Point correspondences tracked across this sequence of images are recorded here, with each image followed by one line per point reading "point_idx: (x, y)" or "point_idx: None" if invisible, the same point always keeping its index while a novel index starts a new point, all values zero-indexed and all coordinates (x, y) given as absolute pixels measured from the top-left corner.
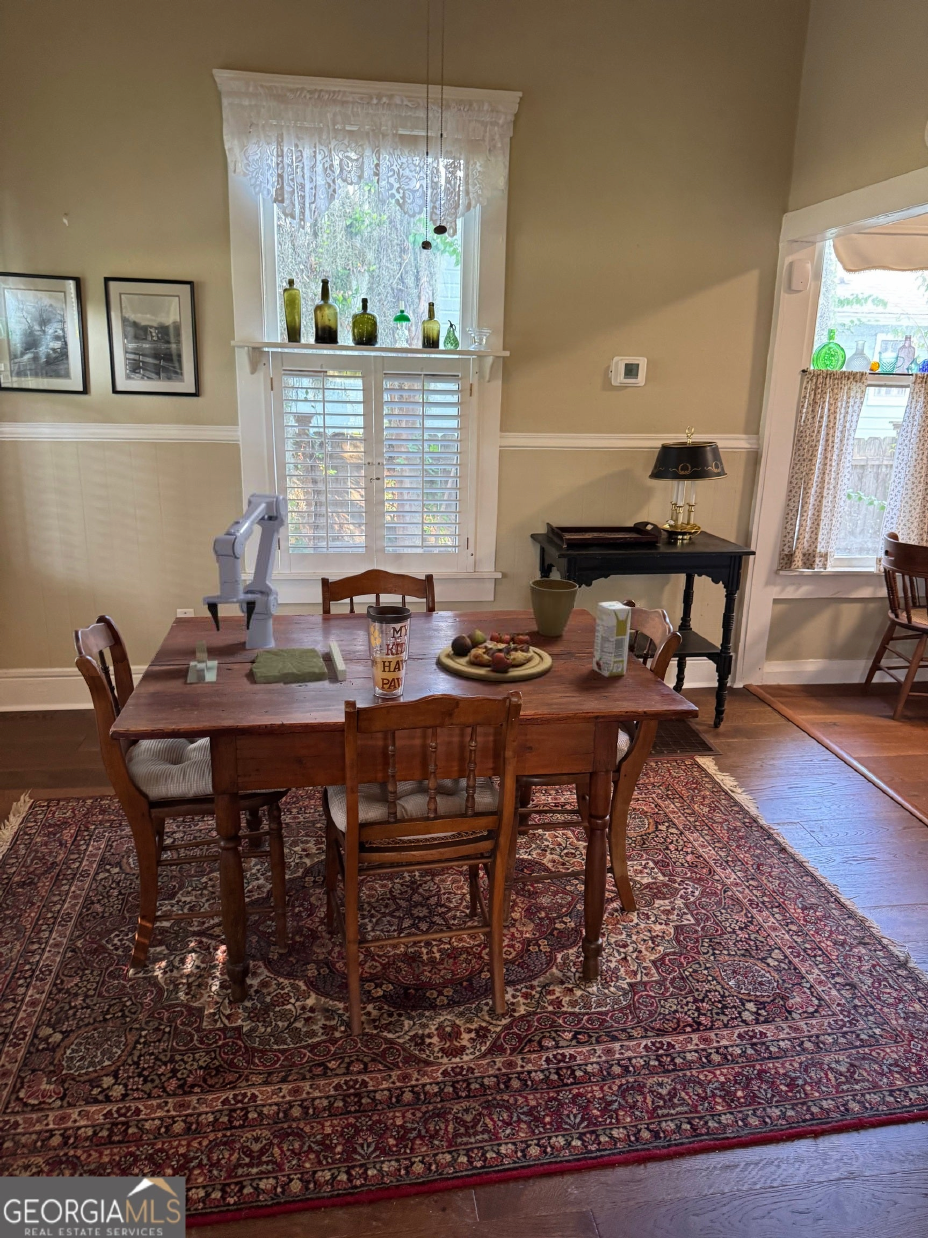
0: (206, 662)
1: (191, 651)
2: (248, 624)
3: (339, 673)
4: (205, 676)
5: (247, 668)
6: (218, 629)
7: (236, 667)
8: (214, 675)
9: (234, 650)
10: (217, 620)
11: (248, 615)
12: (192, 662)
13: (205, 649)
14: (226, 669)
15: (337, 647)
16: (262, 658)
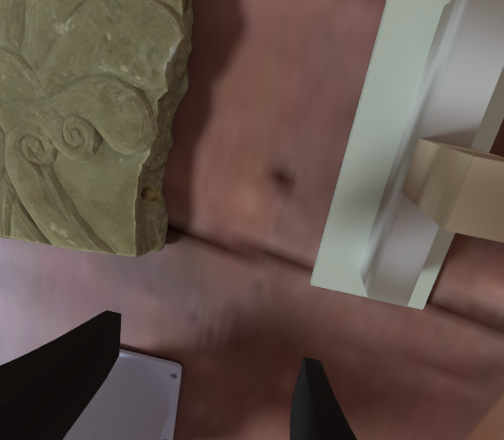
0: (391, 203)
1: (374, 428)
2: (81, 329)
3: None
4: (438, 38)
5: (205, 161)
6: (310, 365)
7: (248, 192)
8: (373, 87)
9: (223, 380)
10: (321, 424)
11: (15, 379)
12: (416, 302)
13: (452, 150)
14: (294, 182)
15: None
16: (118, 143)
